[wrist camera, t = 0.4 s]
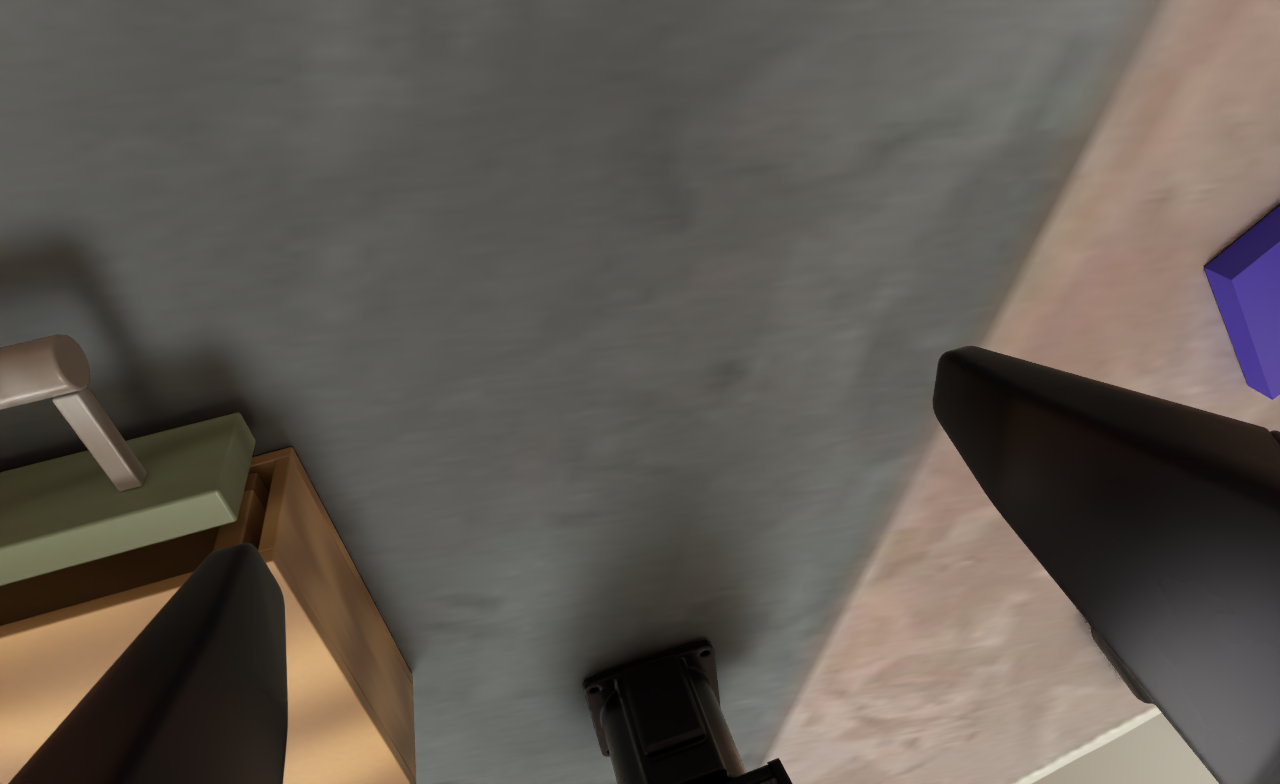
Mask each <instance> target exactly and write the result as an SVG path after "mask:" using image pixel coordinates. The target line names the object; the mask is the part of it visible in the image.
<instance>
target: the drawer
mask: <svg viewBox="0 0 1280 784" xmlns="http://www.w3.org/2000/svg"><path fill="white" fill-rule="evenodd" d="M89 381H90V368H89V364H88V360H87V358H86V356H85V354H84V352H83V350H82V348H81V347H80V346H79V344H78V343H77V342H76V341H75V340H74V339H72V338H71V337H69V336H67V335H60V334H59V335H54V336H49V337H45V338H41V339H36V340H32V341H27V342H23V343H19V344H14V345H10V346H6V347H1V348H0V410H1V409H6V408H10V407H14V406H18V405H22V404H26V403H31V402H35V401H39V400H43V399H47V398H51V397H54V398H53V403H54V404H55V405H56V407H57V408H58V409H59V411H60V412H61V413H62V415H63V416H64V418H65V419H66V420H67V422H68V423H69V424H70V426H71V427H72V428H73V430H74V431H75V432H76V434H77V435H78V436H79V438H80V439H81V441H82V442H83V443H84V445H85V446H86V447H87V449H88V450H87V451H83V452H79V453H75V454H72V455H68V456H64V457H60V458H56V459H52V460H48V461H44V462H40V463H36V464H32V465H28V466H24V467H20V468H16V469H12V470H8V471H4V472H0V626H2V625H6V624H9V623H13V622H16V621H20V620H23V619H27V618H31V617H34V616H38V615H41V614H45V613H48V612H52V611H55V610H59V609H63V608H66V607H70V606H73V605H77V604H80V603H84V602H87V601H91V600H94V599H98V598H102V597H105V596H109V595H112V594H116V593H119V592H123V591H126V590H130V589H134V588H137V587H141V586H144V585H148V584H151V583H155V582H158V581H162V580H165V579H169V578H173V577H176V576H180V575H183V574H187V573H190V572H194V571H195V570H196V569H197V568H198V566H199V565H200V564H201V563H202V562H203V561H204V560H205V558H206V557H207V556H208V555H209V554H210V553H212V552H213V551H216V550H218V549H222V548H225V547H229V546H233V545H236V544H240V543H245V542H246V543H250V544H252V545H254V546H255V547H256V548H257V550H258V549H259V544H260V539H261V533H262V528H263V523H264V518H265V513H266V508H267V502H268V497H269V493H268V491H267V489H266V488H265V486H264V484H263V483H262V481H261V479H260V477H259V476H258V474H257V473H253V474H249V475H248V472H249V468H250V464H251V460H252V455H253V451H254V447H255V443H256V440H255V439H254V437H253V435H252V433H251V431H250V430H249V428H248V426H247V424H246V422H245V421H244V419H243V417H242V415H241V414H240V413H234V414H230V415H226V416H222V417H218V418H214V419H210V420H206V421H202V422H198V423H194V424H190V425H186V426H182V427H178V428H174V429H171V430H167V431H163V432H159V433H155V434H151V435H147V436H143V437H139V438H135V439H131V440H127V441H125V440H124V438H123V437H122V436H121V434H120V433H119V431H118V430H117V428H116V427H115V425H114V424H113V423H112V421H111V420H110V418H109V417H108V415H107V414H106V413H105V411H104V410H103V408H102V407H101V405H100V404H99V402H98V401H97V400H96V398H95V397H94V395H93V394H92V392H91V391H90V389H89V388H88V387H87V385H88V383H89Z"/></svg>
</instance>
